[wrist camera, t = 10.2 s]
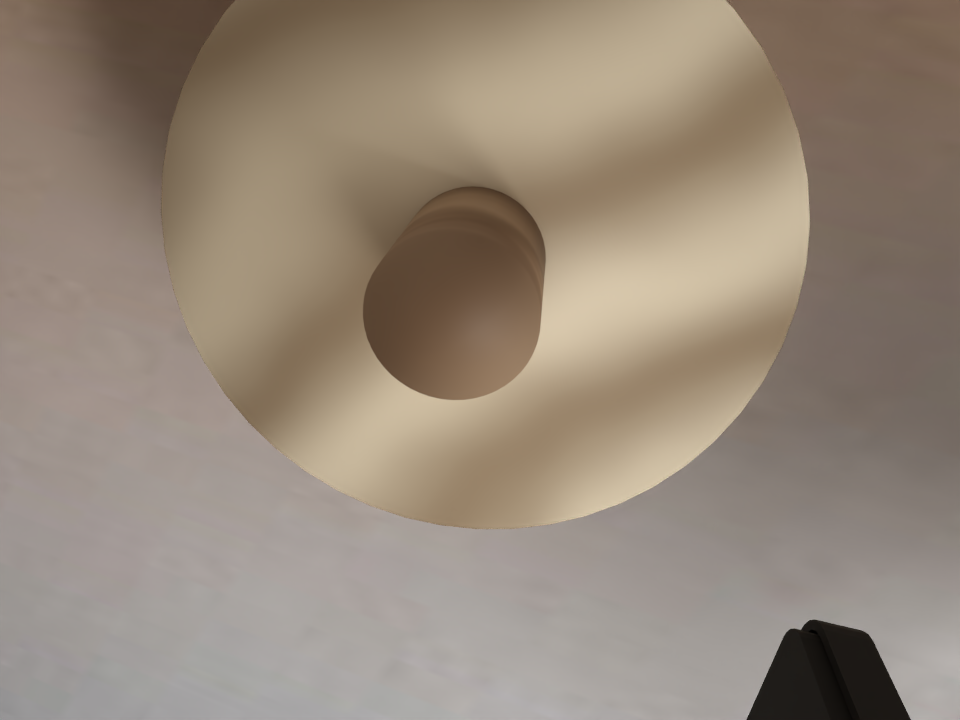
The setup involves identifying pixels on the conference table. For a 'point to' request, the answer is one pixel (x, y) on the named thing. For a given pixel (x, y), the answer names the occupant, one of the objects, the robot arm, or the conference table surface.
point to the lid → (486, 242)
